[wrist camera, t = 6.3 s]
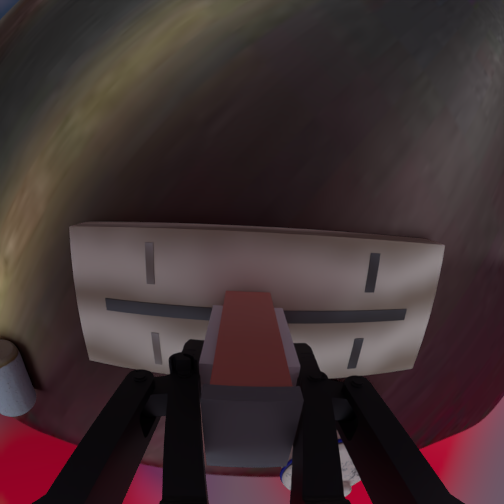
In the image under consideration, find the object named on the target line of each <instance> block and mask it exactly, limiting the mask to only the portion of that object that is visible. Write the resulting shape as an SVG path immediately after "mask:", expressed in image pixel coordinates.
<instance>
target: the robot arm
mask: <svg viewBox="0 0 504 504" xmlns="http://www.w3.org/2000/svg"><path fill="white" fill-rule="evenodd" d="M222 309H223V306H221V305H213V308H212V312H211V316H210V320H209V324H208V328H207V332H206V336H205V340H195V339H189V340H188V341H187V342H186V343H185V344H184V347H183V350H182V352H178V353H175V354H173V355H171V356H170V357H169V359H168V361H169V369H170V374H169V375H166V376H161V377H154V376H153V374H152V373H151V372H150V371H147V370H143V369H138V370H134V371H131V372H130V373H129V374H128V375H127V376H126V377H125V379H124V380H123V382H122V383H121V384H120V386H119V387H118V389H117V390H116V391H115V393H114V394H113V396H112V397H111V398H110V400H109V401H108V403H107V404H106V406H105V407H104V408H103V410H102V411H101V413H100V414H99V416H98V417H97V418H96V420H95V421H94V423H93V424H92V426H91V427H90V429H89V430H88V431H87V433H86V434H85V436H84V437H83V439H82V440H81V442H80V443H79V445H78V446H77V448H76V449H75V451H74V452H73V454H72V455H71V457H70V458H69V460H68V461H67V463H66V464H65V466H64V467H63V469H62V470H61V472H60V473H59V475H58V476H57V478H56V479H55V481H54V483H53V484H52V486H51V487H50V489H49V490H48V492H47V494H46V495H44V496H43V497H41V498H40V499H38V500H37V501H35V502H33V503H32V504H122V502H123V500H124V498H125V496H126V493H127V491H128V489H129V487H130V484H131V482H132V480H133V478H134V475H135V473H136V471H137V468H138V466H139V464H140V462H141V460H142V458H143V455H144V453H145V451H146V449H147V446H148V444H149V442H150V440H151V438H152V435H153V433H154V431H155V429H156V427H157V424H158V422H159V420H160V418H161V416H166V422H165V437H164V456H163V489H162V500H161V501H160V503H159V504H209V502H208V494H207V485H206V475H205V465H204V454H203V441H202V427H201V411H200V403H201V393H202V388H203V384H210V380H211V374H212V368H213V362H214V356H215V350H216V344H217V338H218V332H219V327H220V321H221V315H222ZM274 310H275V314H276V318H277V322H278V327H279V331H280V335H281V339H282V343H283V347H284V352H285V356H286V360H287V364H288V368H289V373H290V377H291V381H292V385H293V386H300V388H301V392H302V396H303V399H304V402H303V406H302V410H301V415H300V419H299V423H298V427H297V430H296V434H295V438H294V442H293V452H292V476H291V495H290V504H351V503H350V501H349V500H347V499H345V497H344V488H343V479H342V469H341V461H340V452H339V445H338V437H337V431H338V433H339V435H340V437H341V440H342V442H343V444H344V446H345V448H346V450H347V452H348V454H349V456H350V458H351V460H352V462H353V464H354V466H355V468H356V470H357V472H358V475H359V477H360V479H361V481H362V483H363V485H364V487H365V489H366V491H367V493H368V495H369V497H370V499H371V501H372V503H373V504H465V503H463V502H461V501H460V500H458V499H457V498H455V497H454V496H452V495H451V494H450V493H449V492H448V490H447V489H446V488H445V486H444V484H443V483H442V482H441V480H440V479H439V477H438V476H437V474H436V473H435V471H434V470H433V469H432V467H431V466H430V464H429V463H428V462H427V460H426V459H425V458H424V456H423V455H422V453H421V452H420V450H419V449H418V448H417V446H416V445H415V443H414V442H413V441H412V439H411V438H410V436H409V435H408V434H407V432H406V431H405V430H404V428H403V427H402V425H401V424H400V423H399V421H398V420H397V418H396V417H395V416H394V414H393V413H392V412H391V410H390V409H389V408H388V406H387V405H386V403H385V402H384V401H383V399H382V398H381V397H380V395H379V394H378V393H377V391H376V390H375V389H374V387H373V386H372V384H371V383H370V382H369V381H368V380H367V379H366V378H364V377H362V376H358V375H352V376H349V377H347V378H346V379H345V381H344V382H337V381H332V380H329V379H328V376H327V375H326V374H325V373H324V372H321V371H320V369H319V366H318V364H317V361H316V358H315V356H314V354H313V351H312V349H311V347H310V346H309V345H308V344H306V343H293V340H292V337H291V334H290V331H289V327H288V324H287V321H286V318H285V314H284V311H283V308H274ZM336 429H337V430H336Z"/></svg>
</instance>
